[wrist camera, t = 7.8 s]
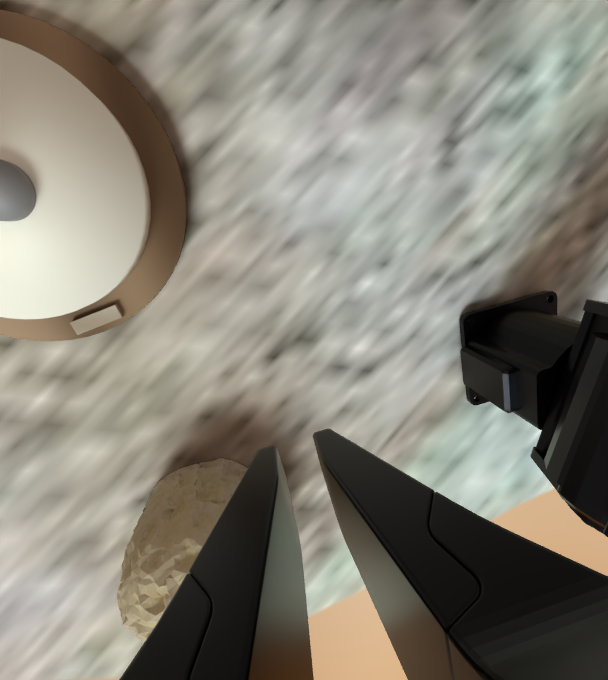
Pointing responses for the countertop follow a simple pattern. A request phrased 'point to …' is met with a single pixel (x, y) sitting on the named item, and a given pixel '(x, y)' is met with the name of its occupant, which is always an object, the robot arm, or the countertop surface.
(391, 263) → the countertop surface
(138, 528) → the sponge
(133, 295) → the base
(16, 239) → the dial
